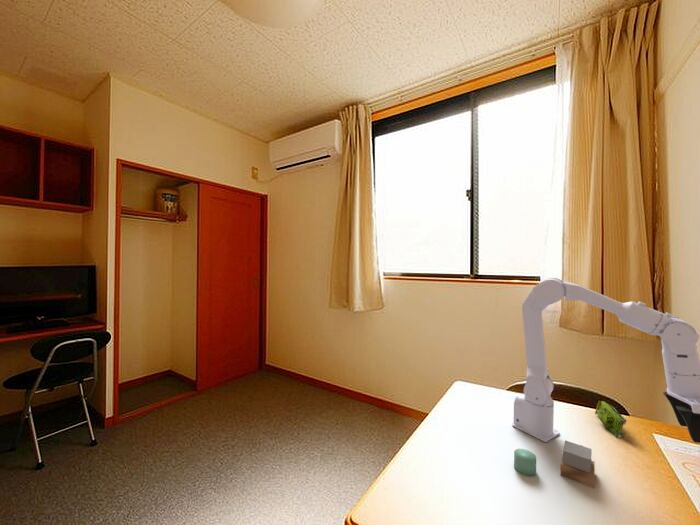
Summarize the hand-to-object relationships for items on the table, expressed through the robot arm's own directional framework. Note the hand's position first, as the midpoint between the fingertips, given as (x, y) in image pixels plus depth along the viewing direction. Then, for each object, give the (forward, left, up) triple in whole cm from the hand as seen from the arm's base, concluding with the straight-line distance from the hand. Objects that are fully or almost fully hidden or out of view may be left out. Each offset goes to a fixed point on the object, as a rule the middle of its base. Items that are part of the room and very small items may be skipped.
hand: (693, 433), depth 68 cm
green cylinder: (-21, -29, -11) cm, 37 cm away
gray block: (-14, -20, -8) cm, 26 cm away
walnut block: (-14, -20, -11) cm, 27 cm away
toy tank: (-18, +8, -11) cm, 22 cm away
